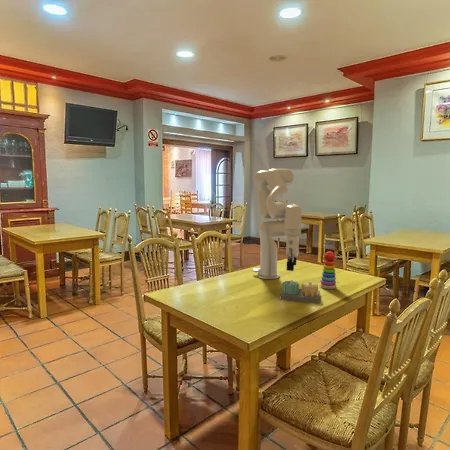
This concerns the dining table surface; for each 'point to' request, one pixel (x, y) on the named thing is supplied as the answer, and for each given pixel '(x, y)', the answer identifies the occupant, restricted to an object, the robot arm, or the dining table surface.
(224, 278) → the dining table surface
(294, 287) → the teal gear
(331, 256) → the stacking toy
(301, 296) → the gear board
